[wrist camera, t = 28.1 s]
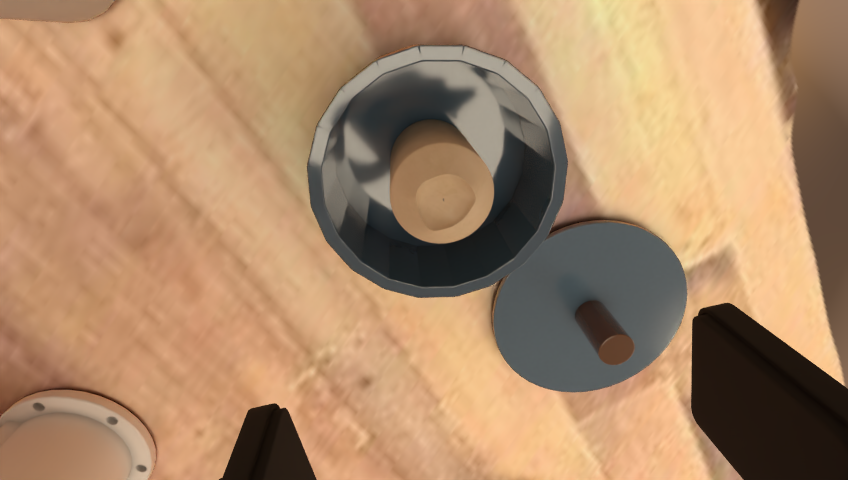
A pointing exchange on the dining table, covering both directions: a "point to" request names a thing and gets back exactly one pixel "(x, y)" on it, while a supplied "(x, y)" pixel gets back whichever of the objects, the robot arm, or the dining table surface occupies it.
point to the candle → (438, 183)
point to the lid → (590, 306)
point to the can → (53, 10)
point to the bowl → (485, 131)
